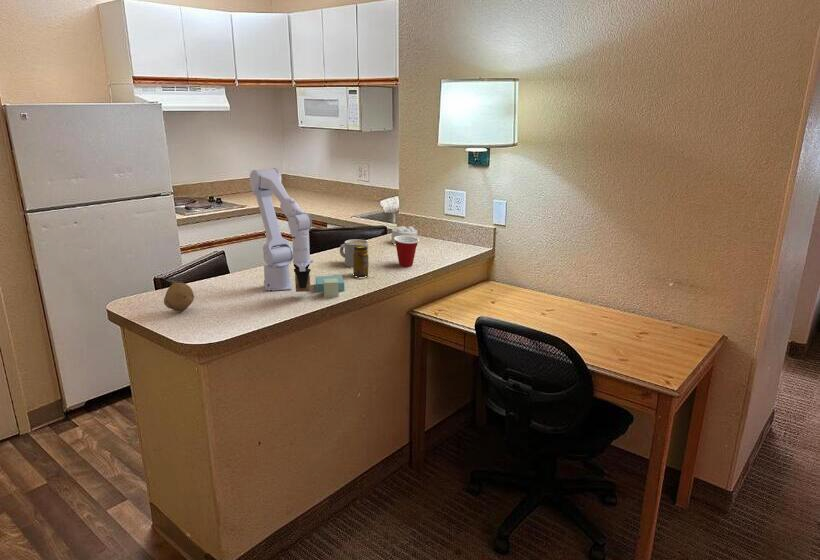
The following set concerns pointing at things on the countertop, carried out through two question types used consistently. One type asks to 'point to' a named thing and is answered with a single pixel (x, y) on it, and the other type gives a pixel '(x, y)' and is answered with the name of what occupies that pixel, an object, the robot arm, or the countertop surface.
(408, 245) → the plastic cup
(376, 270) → the countertop surface
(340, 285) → the teal base block
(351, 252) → the coffee mug
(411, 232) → the lumpy-topped squat cylinder
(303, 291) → the walnut block
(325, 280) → the sage block
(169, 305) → the brown round lump
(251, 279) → the countertop surface
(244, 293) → the countertop surface
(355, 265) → the condiment
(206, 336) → the countertop surface
